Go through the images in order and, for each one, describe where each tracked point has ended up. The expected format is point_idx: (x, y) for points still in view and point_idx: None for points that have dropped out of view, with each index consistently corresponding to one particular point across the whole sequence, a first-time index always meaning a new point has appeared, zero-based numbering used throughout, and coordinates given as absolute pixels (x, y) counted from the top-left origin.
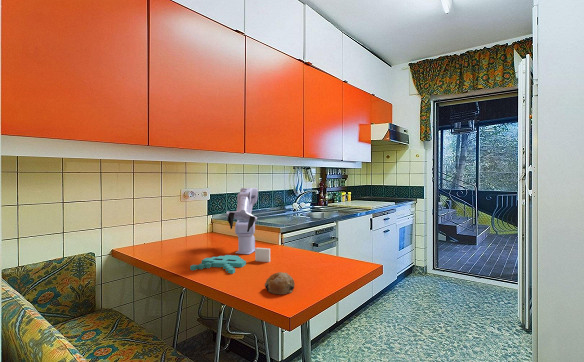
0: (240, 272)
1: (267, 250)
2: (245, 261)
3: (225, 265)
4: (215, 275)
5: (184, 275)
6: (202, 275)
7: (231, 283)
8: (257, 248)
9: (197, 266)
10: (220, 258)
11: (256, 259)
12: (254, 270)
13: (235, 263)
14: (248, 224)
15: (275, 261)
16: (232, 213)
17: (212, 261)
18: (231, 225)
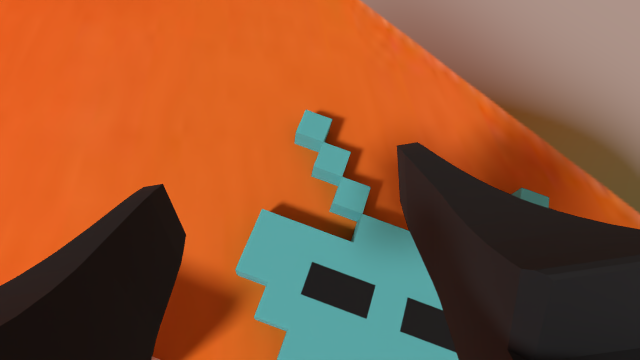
0: (266, 135)
1: None
2: (238, 262)
3: (357, 183)
4: (383, 113)
5: (523, 133)
6: (442, 122)
7: (296, 20)
8: None
9: None
10: (426, 346)
11: (152, 357)
12: (189, 155)
13: (303, 225)
14: (121, 353)
15: None
16: (581, 249)
17: None
18: (416, 143)
